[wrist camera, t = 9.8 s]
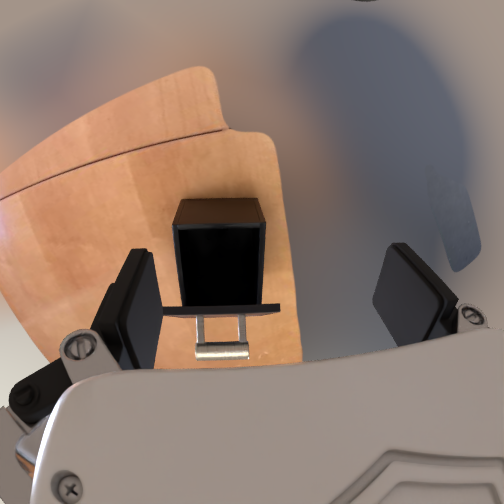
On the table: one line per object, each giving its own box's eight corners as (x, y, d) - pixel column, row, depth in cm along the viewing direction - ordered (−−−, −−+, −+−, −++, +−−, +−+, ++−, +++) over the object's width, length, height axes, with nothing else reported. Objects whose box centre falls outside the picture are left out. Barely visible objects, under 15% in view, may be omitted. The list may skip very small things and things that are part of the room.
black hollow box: (181, 199, 40) (171, 224, 32) (257, 197, 41) (266, 222, 34) (188, 277, 47) (183, 313, 39) (254, 275, 48) (261, 310, 40)
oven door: (160, 306, 25) (162, 362, 24) (280, 303, 26) (282, 359, 25) (182, 312, 39) (184, 349, 38) (261, 310, 40) (263, 346, 39)
